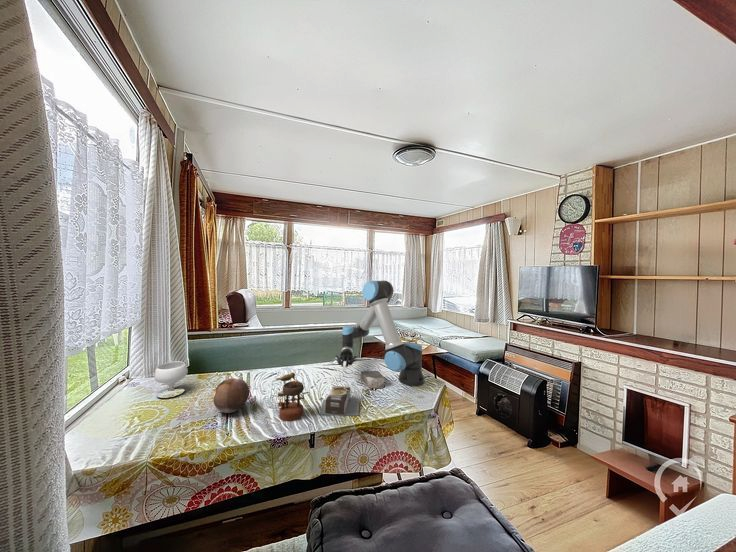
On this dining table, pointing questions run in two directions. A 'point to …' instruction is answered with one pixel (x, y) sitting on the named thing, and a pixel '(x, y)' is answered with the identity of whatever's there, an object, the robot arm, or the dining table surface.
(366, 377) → the geological specimen
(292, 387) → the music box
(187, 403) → the dining table surface
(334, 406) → the coffee box
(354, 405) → the rubber mat
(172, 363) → the chalice
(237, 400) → the wooden sphere
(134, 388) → the dining table surface
